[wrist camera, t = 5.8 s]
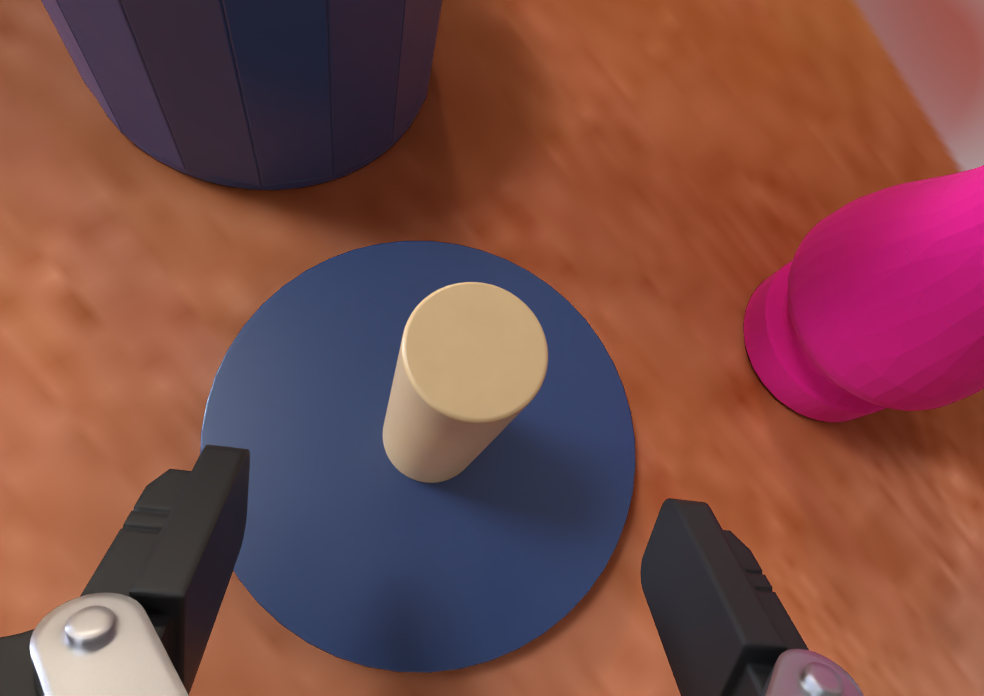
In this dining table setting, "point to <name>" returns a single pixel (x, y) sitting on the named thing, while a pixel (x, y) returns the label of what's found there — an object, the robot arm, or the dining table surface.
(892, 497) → the dining table surface
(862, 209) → the pepper mill
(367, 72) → the can
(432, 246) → the lid
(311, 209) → the dining table surface
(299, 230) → the dining table surface
